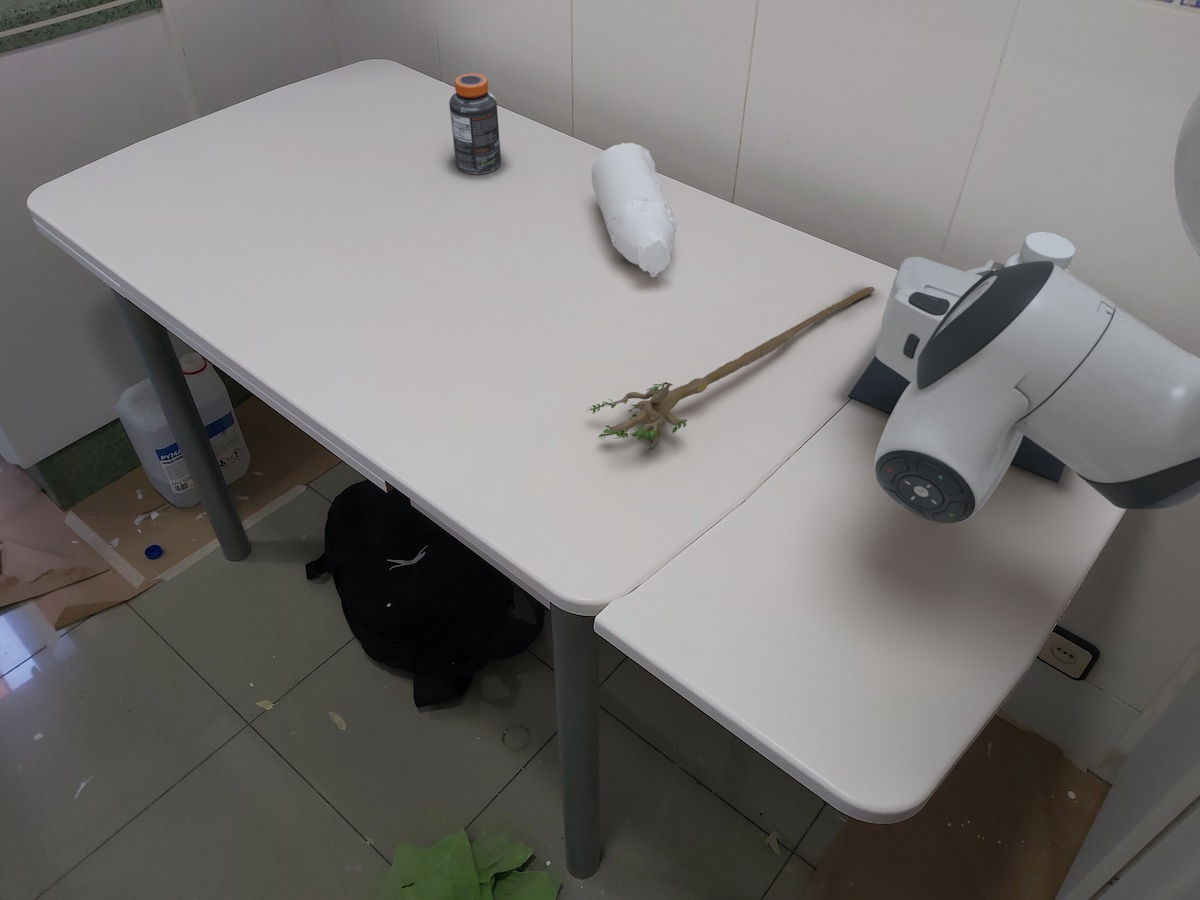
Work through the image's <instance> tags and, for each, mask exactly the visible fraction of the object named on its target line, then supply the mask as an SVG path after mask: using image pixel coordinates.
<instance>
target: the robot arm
mask: <svg viewBox="0 0 1200 900" xmlns="http://www.w3.org/2000/svg"><path fill="white" fill-rule="evenodd" d="M1173 176H1174V177H1173V181H1174V191H1175V199H1176V204H1177V209H1178V214H1179V217H1180V220H1181V223H1182V226H1183V228H1184V231H1185V234H1186V236H1187V237H1188V240H1189V242H1190V244H1191V246H1192V247H1193V249H1194V250H1195V252H1196V254H1197V255H1198V257H1199V258H1200V92H1199V93H1197V95H1196V97H1195V98H1194V100H1193V101H1192V103H1191V104H1190V106H1189V107H1188V110H1187V111H1186V114H1185V115H1184V118H1183V121H1182V123H1181V127H1180V130H1179V134H1178V138H1177V144H1176V148H1175V154H1174V164H1173ZM1004 265H1005V263H1001V262H999V261H997V260H993V259H988V260H987V262H986V264H985V265H984V266H979V267H976V268H972V269H967V270H966V271H964V270H961V269H958V268H956V267H952V266H950V265H947V264H944V263H940V262H937V261H934V260H931V259H929V258H926V257H923V256H911V257H906V258H905V259H904V260H902V262H901V264H900V265H899V267H898V270H897V272H896V273H895V278H894V279H893V283H892V285H891V289H890V292H889V295H888V297H887V301H886V305H885V308H884V312H883V315H882V319H881V326H880V330H879V333H878V338H877V342H876V343H877V344H876V349H875V356H876V357H877V358H878V359H879V360H880V361H881V362H882V363H884V364H885V365H887V366H888V367H890V368H891V369H893V370H894V371H896V372H897V373H899V374H900V375H902V376H903V377H904V378H906V379H907V380H908V381H910V382H911V383H910V384H909V385H908V386H907V388H906V389H905V391H904V392H903V394H902V395H901V397H900V399H899V400H898V402H897V404H896V406H895V408H894V410H893V412H892V413H891V414H890V416H889V417H888V419H887V422H886V424H885V425H884V426H885V427H884V428H883V431H882V434H881V437H880V439H879V442H878V445H877V448H876V451H875V456H874V461H873V471H874V475H875V478H876V480H877V482H878V484H879V486H880V487H881V489H882V490H883V491H884V492H885V493H886V494H887V495H888V496H889V497H890V498H891V499H892V500H894V501H895V502H896V503H898V504H899V505H900V506H902V507H903V508H904V509H905V510H907V511H909V512H910V513H912V514H913V515H916V516H918V517H920V518H922V519H925V520H927V521H930V522H934V523H941V524H959V523H962V522H966V521H968V520H970V519H971V518H973V517H974V516H975V515H976V514H977V513H978V512H979V511H980V510H981V509H982V508H983V506H984V505H985V504H986V503H987V501H988V500H989V499H990V497H991V496H992V494H993V493H994V491H995V490H996V488H997V487H998V486H999V484H1000V483H1001V481H1002V479H1003V478H1004V476H1005V475H1006V472H1008V469H1009V467H1010V466H1011V464H1012V463H1011V462H1012V460H1013V458H1014V456H1015V454H1016V452H1017V450H1018V448H1019V446H1020V444H1021V441H1022V438H1023V435H1025V436H1026V437H1028V438H1029V439H1031V440H1032V441H1033V442H1035V443H1036V444H1038V445H1039V446H1040V447H1042V448H1043V449H1045V450H1046V451H1047V452H1049V453H1050V454H1052V455H1053V456H1055V457H1056V458H1057V459H1059V460H1060V461H1062V462H1063V463H1064V464H1065V466H1067V467H1069V468H1070V469H1071V470H1073V471H1074V472H1075V473H1076V474H1077V476H1078V477H1079V478H1081V479H1082V480H1083V481H1084V482H1086V483H1087V484H1088V485H1089V486H1090V487H1092V488H1093V489H1094V490H1095V491H1096V492H1098V493H1099V494H1100V495H1101V496H1102V497H1103V498H1104V499H1105V500H1107V501H1108V502H1109V503H1110V504H1111V505H1113V506H1114V507H1116V508H1119V509H1124V510H1159V509H1167V508H1171V507H1176V506H1180V505H1183V504H1185V503H1187V502H1189V501H1190V500H1192V499H1194V498H1195V497H1197V496H1198V495H1199V494H1200V357H1198V356H1196V355H1194V354H1192V353H1190V352H1188V351H1186V350H1184V349H1183V348H1181V347H1179V345H1176V344H1174V343H1173V342H1171V341H1170V340H1168V339H1167V338H1166V337H1164V336H1163V335H1162V334H1160V333H1159V332H1157V331H1155V330H1154V329H1153V328H1151V327H1149V326H1148V325H1147V324H1145V323H1144V322H1142V321H1140V320H1139V319H1138V318H1136V317H1135V316H1133V315H1132V314H1130V313H1129V312H1128V311H1126V310H1125V309H1123V308H1121V307H1120V306H1118V305H1117V304H1116V303H1115V302H1114V301H1113V300H1111V299H1110V298H1109V297H1106V296H1105V295H1104V294H1101V293H1100V292H1099V291H1097V289H1095V288H1093V287H1092V286H1090V285H1089V284H1087V283H1086V282H1084V281H1082V280H1081V279H1079V277H1077V276H1075V275H1073V274H1072V273H1070V271H1069V272H1067V271H1066V270H1064V269H1062V268H1060V267H1059V266H1057V265H1055V264H1053V262H1052V261H1034V262H1026V263H1021V264H1017V265H1013V266H1009V267H1005V268H1003V267H1004Z"/></svg>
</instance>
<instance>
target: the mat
mask: <svg viewBox="0 0 1200 900" xmlns="http://www.w3.org/2000/svg"><path fill="white" fill-rule="evenodd" d="M910 383H911V382H910V381H908V380H907V379H906V378H904V377H903V376H902V375H900V374H899V373H897V372H896V371H894V370H893V369H891V368H890V367H888V366H887V365H885V364H884V363H882V362H881V361H880V360H879V359H878V358H877V357H876V355H875V356H874V357H873V358H872V360H871V361H870V363H869V364H868V366H866V368H865V370H864V371H863V373H862V374H861V376H860V377H859V379H858V380H857V382H856V383H855V385H854V386H853V388H852V389H851V391H850V392H849V393H848V395H847V397H848V398H851V399H852V400H855V401H858V402H860V403H863V404H865V405H867V406H871V407H873V408H875V409H877V410H880V411H882V412H885V413H887V414H888V415H889V414H890V415H891V413H892V412H893V410H894V408H895V406H896V404H897V402H898V400H899V399H900V397H901V395H902V394H903V392H904V391H905V389H906V388H907V386H908V385H909V384H910ZM1011 464H1012V465H1014V466H1017V467H1019V468H1022V469H1024V470H1026V471H1028V472H1031V473H1034V474H1036V475H1038V476H1040V477H1043V478H1046V479H1048V480H1051V481H1052V482H1056V483H1059V482H1060V479H1061V477H1062V474H1063V472H1064V470H1065V466H1066V464H1064V463H1063V462H1062V461H1060V460H1059V459H1057V458H1056V457H1055V456H1053V455H1052V454H1050V453H1049V452H1047V451H1046V450H1045V449H1043V448H1042V447H1040V446H1039V445H1038V444H1036V443H1035V442H1033V441H1032V440H1031V439H1029V438H1028V437H1026V436H1025V435H1023V438H1022V441H1021V444H1020V446H1019V448H1018V450H1017V452H1016V454H1015V456H1014V458H1013V460H1012V462H1011Z"/></svg>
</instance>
